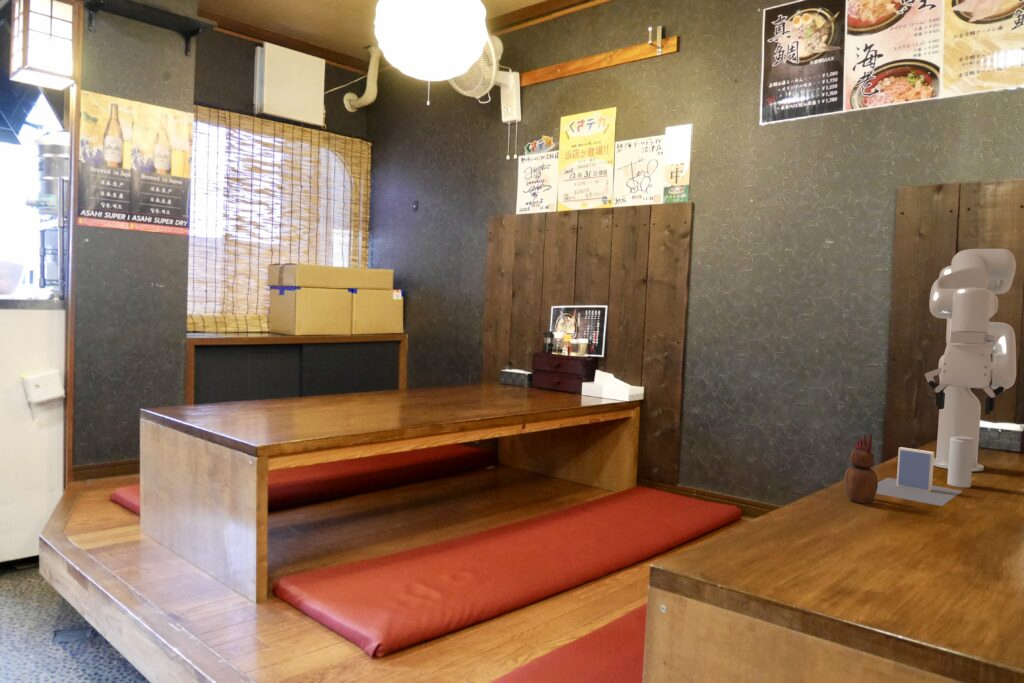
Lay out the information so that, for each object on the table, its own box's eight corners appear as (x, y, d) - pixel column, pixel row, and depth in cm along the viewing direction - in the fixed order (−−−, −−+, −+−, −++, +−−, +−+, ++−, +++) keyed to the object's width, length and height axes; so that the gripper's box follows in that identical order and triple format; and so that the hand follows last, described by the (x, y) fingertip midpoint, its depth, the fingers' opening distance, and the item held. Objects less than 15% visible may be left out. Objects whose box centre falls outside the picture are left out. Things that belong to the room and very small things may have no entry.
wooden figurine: (881, 506, 149) (885, 435, 148) (853, 505, 149) (857, 434, 148) (865, 497, 155) (869, 430, 155) (839, 496, 155) (843, 429, 155)
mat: (887, 479, 175) (887, 477, 175) (962, 492, 164) (962, 490, 164) (861, 492, 160) (861, 490, 160) (941, 507, 149) (941, 506, 149)
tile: (898, 484, 167) (900, 447, 167) (931, 490, 163) (934, 452, 162) (896, 485, 166) (898, 447, 166) (929, 491, 161) (932, 452, 161)
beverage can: (974, 490, 167) (977, 439, 166) (951, 488, 168) (955, 438, 167) (965, 485, 171) (968, 436, 171) (943, 483, 172) (947, 434, 172)
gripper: (1015, 342, 164) (1010, 415, 165) (931, 338, 176) (927, 406, 177) (1010, 341, 159) (1004, 417, 160) (923, 337, 171) (919, 408, 171)
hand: (963, 411), depth 168 cm, fingers open, 9 cm apart
